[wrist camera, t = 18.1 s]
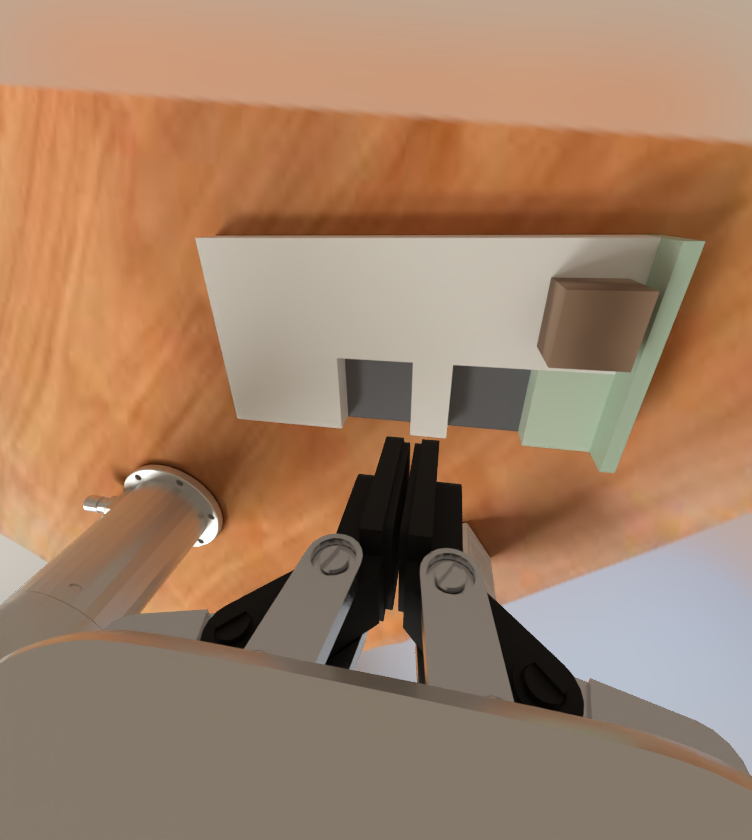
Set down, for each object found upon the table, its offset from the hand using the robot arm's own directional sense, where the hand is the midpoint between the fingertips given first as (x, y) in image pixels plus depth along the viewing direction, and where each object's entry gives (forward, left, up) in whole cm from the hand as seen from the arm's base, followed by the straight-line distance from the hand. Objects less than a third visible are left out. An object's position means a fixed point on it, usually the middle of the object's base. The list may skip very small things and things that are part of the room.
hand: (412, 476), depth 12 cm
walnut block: (+9, +1, -17) cm, 19 cm away
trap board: (-3, -2, -19) cm, 20 cm away
